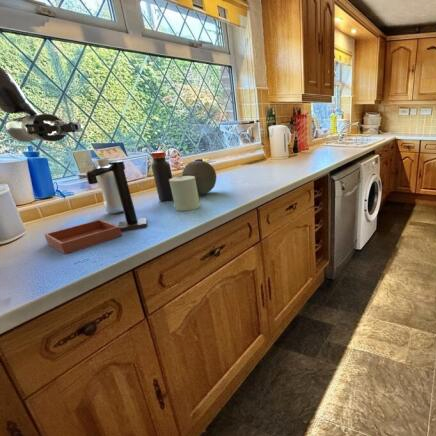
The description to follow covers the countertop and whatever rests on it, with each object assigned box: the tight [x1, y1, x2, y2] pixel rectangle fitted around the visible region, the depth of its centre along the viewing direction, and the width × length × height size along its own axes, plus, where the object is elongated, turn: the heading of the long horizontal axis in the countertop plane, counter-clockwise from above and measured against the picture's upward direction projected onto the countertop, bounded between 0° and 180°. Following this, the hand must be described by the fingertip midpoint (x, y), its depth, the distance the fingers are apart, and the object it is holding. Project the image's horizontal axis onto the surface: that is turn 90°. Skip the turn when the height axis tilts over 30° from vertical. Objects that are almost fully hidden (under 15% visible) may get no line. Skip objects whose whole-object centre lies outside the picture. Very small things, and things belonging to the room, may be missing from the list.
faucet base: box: [113, 170, 148, 232], centre depth 97 cm, size 8×7×19 cm
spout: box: [85, 160, 126, 185], centre depth 87 cm, size 16×4×4 cm, turn 8°
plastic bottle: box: [95, 158, 124, 214], centre depth 111 cm, size 6×7×20 cm
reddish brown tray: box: [44, 219, 123, 255], centre depth 89 cm, size 14×13×3 cm
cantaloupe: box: [181, 160, 217, 196], centre depth 133 cm, size 14×14×15 cm
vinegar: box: [150, 151, 174, 202], centre depth 126 cm, size 7×7×20 cm
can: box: [169, 175, 201, 212], centre depth 116 cm, size 9×9×12 cm
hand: (67, 128), depth 79 cm, fingers closed
